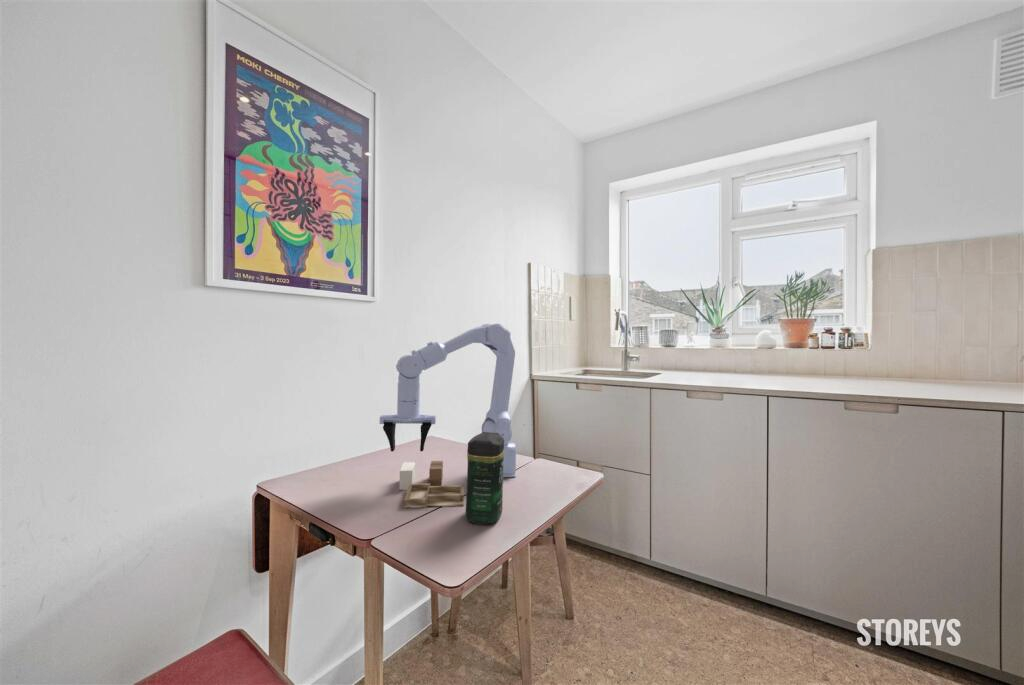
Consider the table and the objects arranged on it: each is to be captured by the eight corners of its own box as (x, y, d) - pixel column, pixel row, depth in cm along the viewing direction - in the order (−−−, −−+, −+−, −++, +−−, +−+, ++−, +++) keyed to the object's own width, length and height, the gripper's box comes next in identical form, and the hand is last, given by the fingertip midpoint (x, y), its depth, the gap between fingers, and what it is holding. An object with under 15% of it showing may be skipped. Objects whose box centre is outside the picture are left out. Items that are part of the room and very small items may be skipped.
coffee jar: (497, 528, 85) (499, 441, 84) (461, 524, 86) (463, 439, 85) (505, 508, 94) (507, 430, 94) (473, 505, 95) (475, 428, 95)
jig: (463, 489, 105) (463, 482, 105) (463, 505, 95) (463, 498, 95) (409, 490, 103) (409, 483, 103) (403, 507, 93) (403, 500, 93)
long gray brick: (415, 479, 111) (415, 462, 111) (412, 489, 104) (412, 470, 104) (403, 480, 111) (403, 462, 111) (399, 490, 104) (399, 471, 104)
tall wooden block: (441, 486, 107) (441, 468, 107) (429, 486, 106) (429, 468, 106) (442, 477, 113) (442, 460, 113) (431, 477, 113) (431, 461, 113)
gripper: (377, 402, 102) (376, 454, 102) (434, 402, 103) (433, 454, 103) (383, 397, 109) (382, 446, 109) (437, 398, 110) (435, 447, 110)
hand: (407, 450), depth 107 cm, fingers open, 7 cm apart
